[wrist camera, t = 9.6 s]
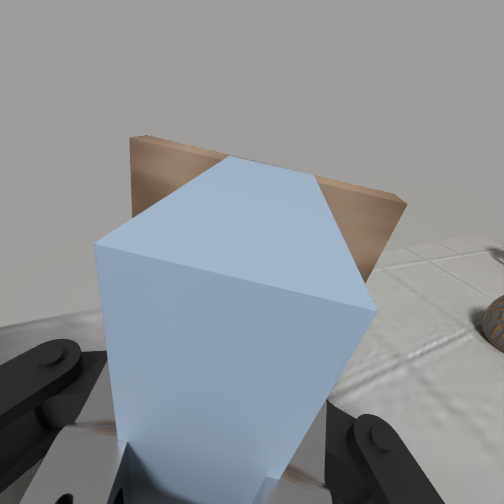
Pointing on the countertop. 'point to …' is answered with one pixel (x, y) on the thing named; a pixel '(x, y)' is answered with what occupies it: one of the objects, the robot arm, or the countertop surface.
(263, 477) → the light blue rectangular block
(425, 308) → the countertop surface
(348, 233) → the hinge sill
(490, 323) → the vase
